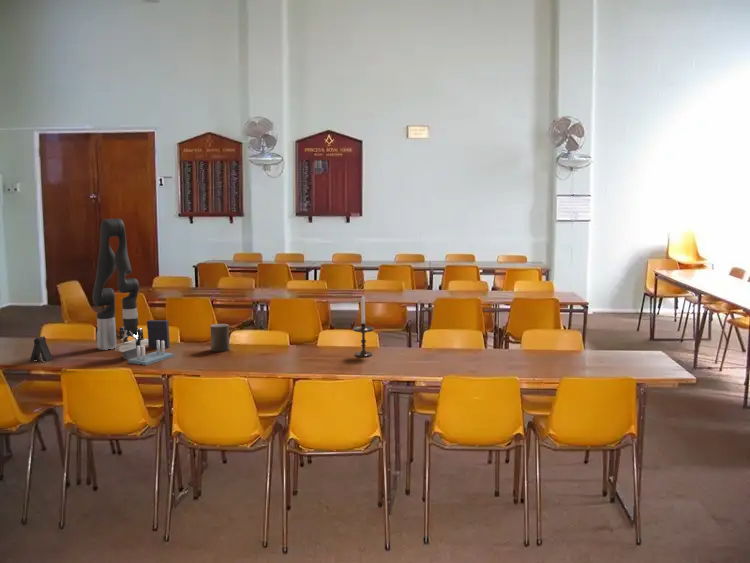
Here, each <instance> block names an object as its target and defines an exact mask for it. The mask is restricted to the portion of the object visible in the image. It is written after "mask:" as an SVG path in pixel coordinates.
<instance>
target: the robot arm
mask: <svg viewBox="0 0 750 563" xmlns="http://www.w3.org/2000/svg"><path fill="white" fill-rule="evenodd" d="M111 237H114V238H115V237H117V240H118V246H117V249H116V253H115V252H114V250H113V249H112V247H111V245H110V238H111ZM127 241H128V240H127V235H126V227H125V223H124V221H123V219H121V218H107V219H102V221H101V223H100V229H99V250H98V257H97V265H96V266H97V267H96V274H95V275H96V276H95V281H94V286H93V290H92V298H91V299H92V303H93V305H94V306H96V307H102V306H103V307H104V308H103V309H102V310H100V311H98V312H97V313H96V321H97V323H96V324H97V331H96V346H97V349H98V350H101V351H109V350H108V349H111V350H115V349H114V348H115V345H117V344H118V343H117V332H116V330H117V329H116V294H115V290H114V289H113V288H111V287H106V288H104V287H105V284H106V283H107V282H108V280H109V279H110V278H111V277H112V276H113V274H114V273H115V271H116V272H117V286H116V287H117V290H118V291H119V292H120V293H121V294H125V293H128V295H126V296H124V297H123V298H122V299H121V302H122V303H121V304H122V326H121V327H119V339H121V340H122V343H124V342H128V340H129V337H132V338H133V339H134V340H136V348H137V346H140V347H141V344H140V341H141V340H143V339H145V338H144V330H143V328H138V326H139V315H138V306H137V304H138V302H137V298H138V294H139V291H140V290H139V289H140V283H139V280H138V279H137V278H133V277H131V278H126V277H127V276H128V275H130V274H131V273H132V271H133V270H132V266H131V262H130V258H129V252H128V243H127ZM141 348H142V347H141Z"/></svg>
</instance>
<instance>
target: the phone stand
mask: <svg viewBox="0 0 750 563" xmlns="http://www.w3.org/2000/svg"><path fill="white" fill-rule="evenodd" d="M46 338H47V337H45V335H44V336H39V337H37V338H35V339H34V340H33V343H34V344H33V347H32V348H33V349H32V353H31V356H30V359H29V362H30V361H34V360H37V361H42V360H43V361H47V362H49V361H51V360H53V356H52V353H51V351H50V349H49V346H48V343H47V341H46V340H47V339H46ZM41 359H42V360H41ZM48 360H49V361H48Z"/></svg>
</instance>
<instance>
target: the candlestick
mask: <svg viewBox="0 0 750 563" xmlns="http://www.w3.org/2000/svg"><path fill="white" fill-rule="evenodd" d="M364 293H365V289H363V291H362V293H361V295H362V296H361V298H360V300H361V301H360V303H361V310H360V311H361V317H360V318H361V322H359V324H360V325H359V326H353V328H352V331H353V332H357V333H361V337H362V338H361V340H360V343H361V345H360V346H361V348H362V349H361V351H357V352H355V353H354V357H357V358H369V357H372V356H373V353H372V352H371V351H366V347H367V345H366V343H367V340H366V335H365V334H366V333H369V332H374V331H375V328H374V326H369V325H367V324H368V322H366V297H365V294H364Z"/></svg>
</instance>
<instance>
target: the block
mask: <svg viewBox="0 0 750 563" xmlns="http://www.w3.org/2000/svg"><path fill="white" fill-rule="evenodd" d="M140 355H141V356H142V347H140ZM136 357H137V348H135V349H131V350H128V351H125V352H122V358H123V360H130V359H133V358H136Z"/></svg>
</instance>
